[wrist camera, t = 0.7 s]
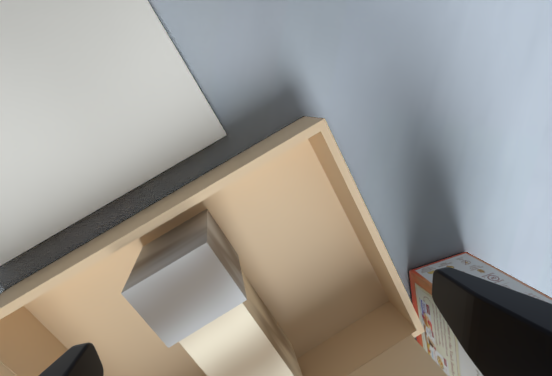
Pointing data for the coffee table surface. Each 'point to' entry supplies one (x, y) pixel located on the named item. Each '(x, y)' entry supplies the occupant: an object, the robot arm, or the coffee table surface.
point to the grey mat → (87, 111)
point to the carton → (254, 264)
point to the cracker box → (437, 331)
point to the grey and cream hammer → (207, 303)
